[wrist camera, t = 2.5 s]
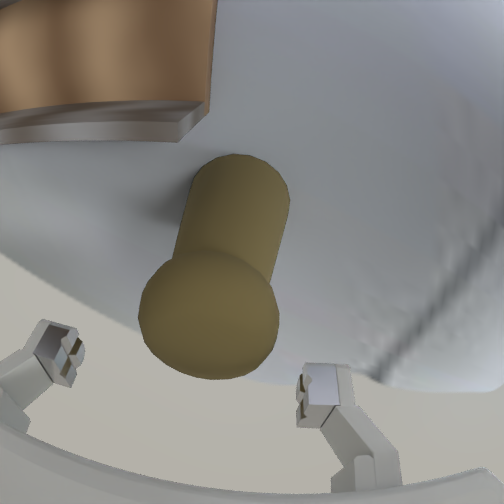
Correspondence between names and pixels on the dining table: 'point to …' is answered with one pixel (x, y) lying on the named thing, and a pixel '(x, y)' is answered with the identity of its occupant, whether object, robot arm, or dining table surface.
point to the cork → (220, 273)
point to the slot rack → (104, 69)
